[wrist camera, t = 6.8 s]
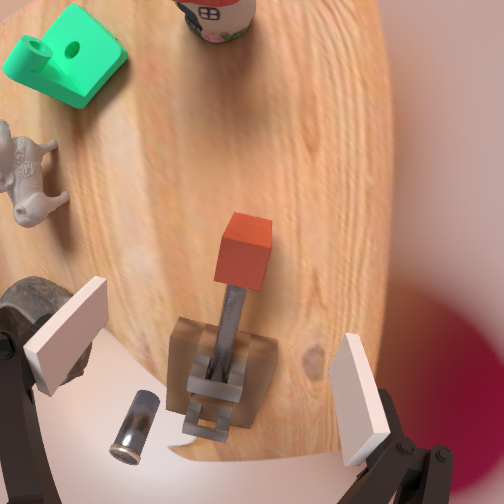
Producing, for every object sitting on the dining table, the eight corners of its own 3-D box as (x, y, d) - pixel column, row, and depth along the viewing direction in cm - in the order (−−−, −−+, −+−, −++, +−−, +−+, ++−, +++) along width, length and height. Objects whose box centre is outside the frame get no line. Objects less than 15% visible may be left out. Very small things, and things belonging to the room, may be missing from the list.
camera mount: (135, 57, 25) (81, 33, 15) (89, 108, 27) (26, 107, 17) (84, 7, 22) (32, -18, 12) (44, 54, 24) (-13, 44, 14)
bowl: (105, 362, 40) (76, 408, 31) (30, 323, 39) (-4, 357, 30) (109, 289, 35) (68, 335, 26) (24, 249, 34) (-22, 279, 25)
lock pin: (206, 357, 34) (193, 400, 28) (234, 212, 28) (222, 236, 21) (235, 363, 34) (227, 408, 28) (272, 220, 28) (271, 248, 21)
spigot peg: (136, 402, 43) (111, 458, 32) (134, 385, 41) (106, 444, 30) (161, 409, 43) (140, 468, 32) (161, 394, 41) (137, 455, 30)
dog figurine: (51, 109, 27) (-13, 110, 17) (75, 207, 31) (15, 237, 21) (24, 127, 28) (-37, 134, 18) (47, 219, 32) (-10, 248, 22)
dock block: (173, 390, 40) (158, 431, 33) (179, 316, 35) (158, 360, 28) (252, 408, 41) (247, 452, 33) (277, 339, 35) (276, 387, 28)
